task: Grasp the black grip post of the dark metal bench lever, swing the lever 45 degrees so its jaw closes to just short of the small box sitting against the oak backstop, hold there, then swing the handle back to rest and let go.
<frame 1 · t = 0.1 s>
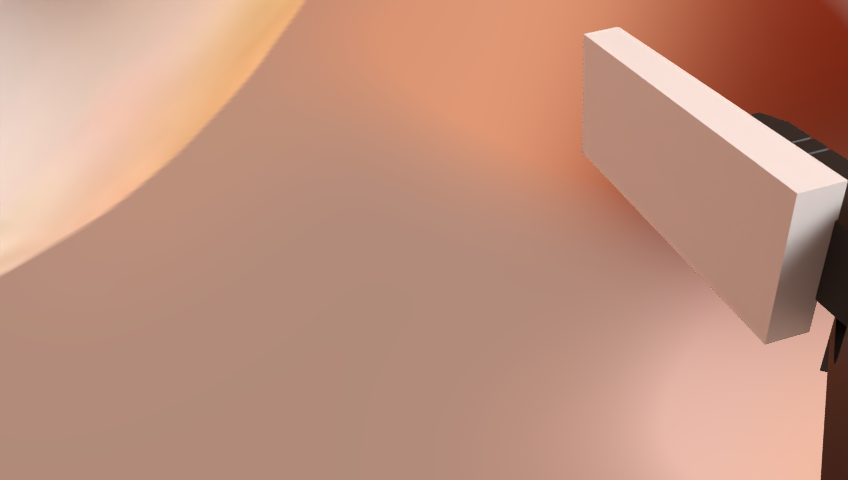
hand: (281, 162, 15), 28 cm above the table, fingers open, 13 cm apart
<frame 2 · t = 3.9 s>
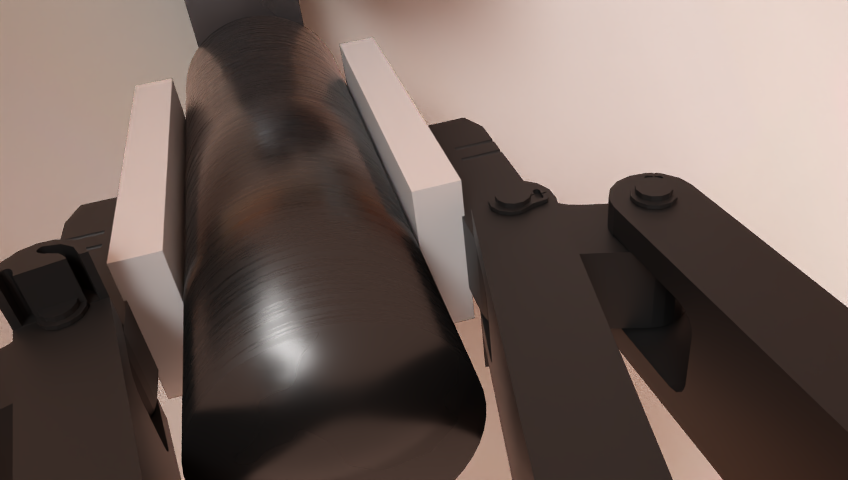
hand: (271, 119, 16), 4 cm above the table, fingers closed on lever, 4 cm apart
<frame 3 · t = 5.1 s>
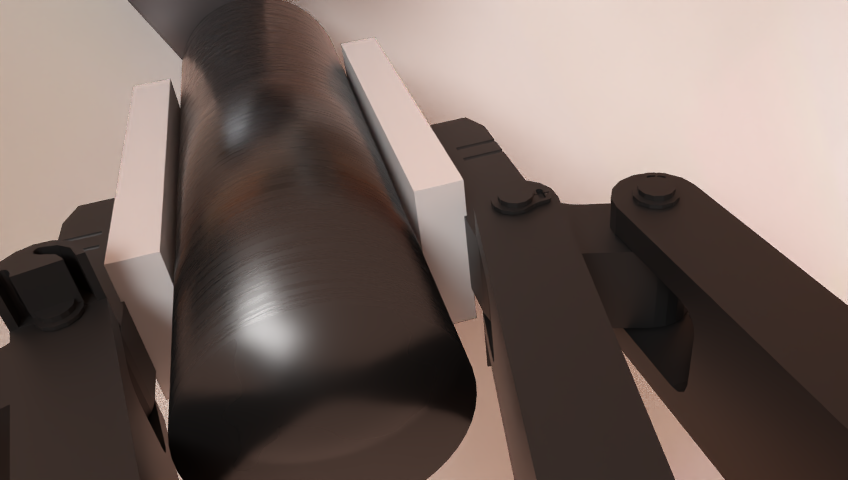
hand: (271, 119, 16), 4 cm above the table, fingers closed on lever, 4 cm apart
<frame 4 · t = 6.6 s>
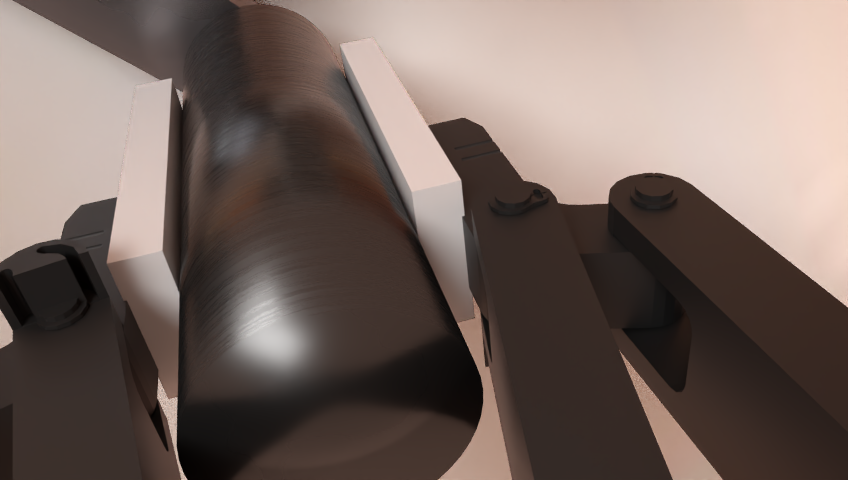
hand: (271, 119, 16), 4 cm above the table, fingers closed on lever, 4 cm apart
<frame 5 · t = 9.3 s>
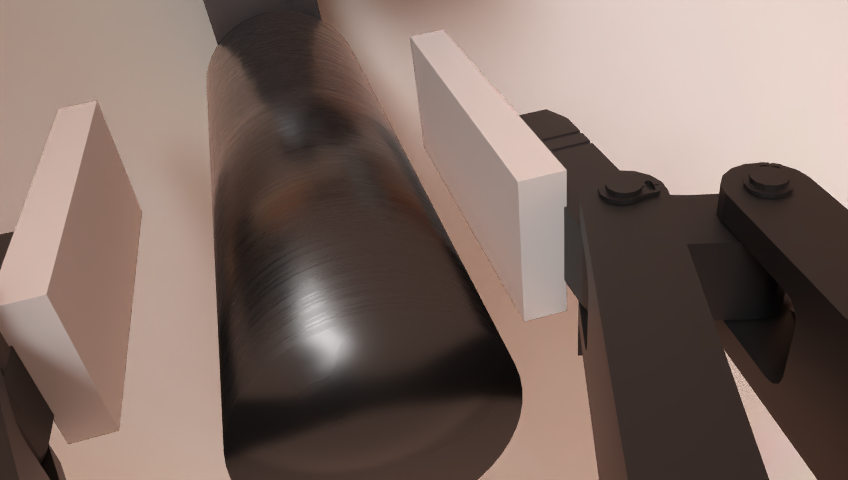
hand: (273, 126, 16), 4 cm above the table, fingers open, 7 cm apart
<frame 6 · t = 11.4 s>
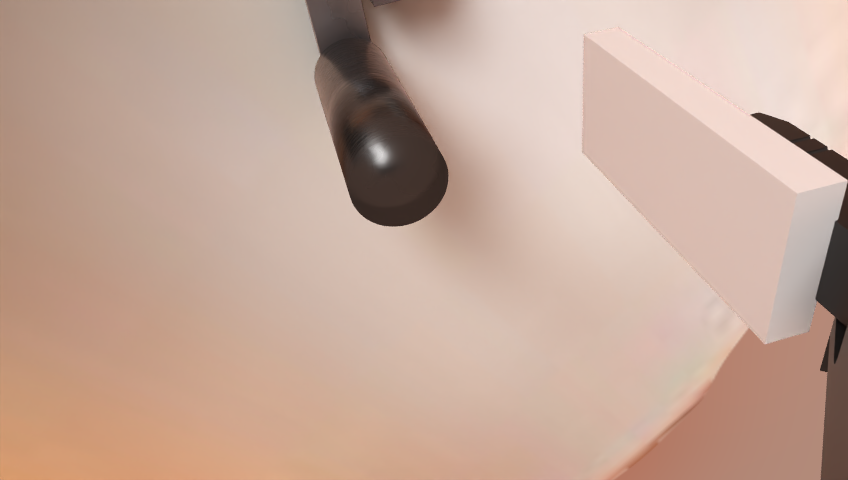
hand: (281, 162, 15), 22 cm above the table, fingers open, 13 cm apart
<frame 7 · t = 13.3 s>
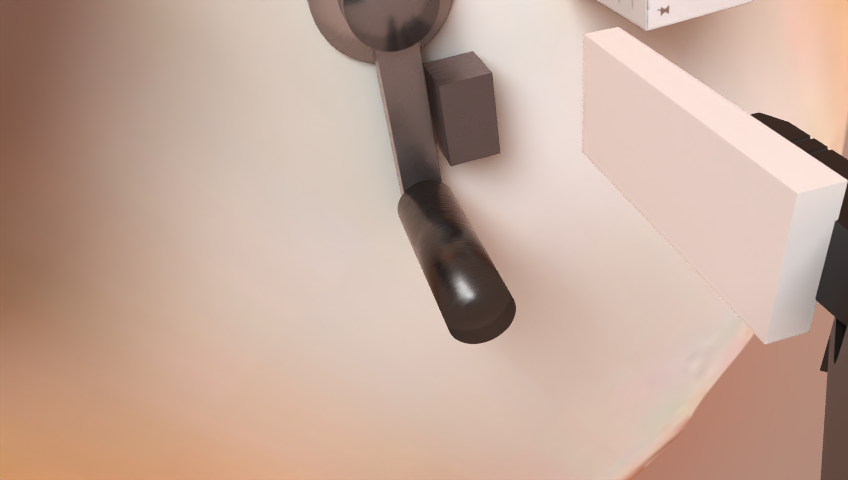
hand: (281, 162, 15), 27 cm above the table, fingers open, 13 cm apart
lever: (448, 138, 38), point 7 cm above the table, hinge at 2.2°
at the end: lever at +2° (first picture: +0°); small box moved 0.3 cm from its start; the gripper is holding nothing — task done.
